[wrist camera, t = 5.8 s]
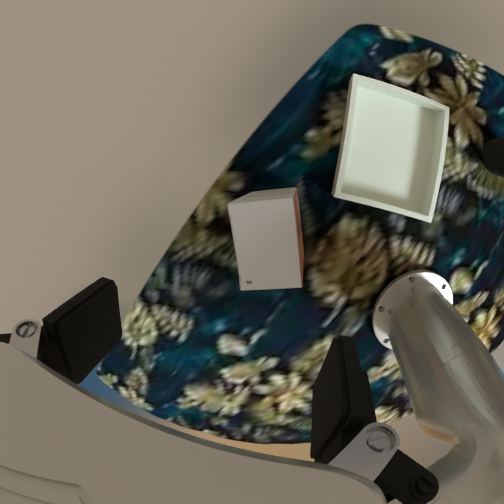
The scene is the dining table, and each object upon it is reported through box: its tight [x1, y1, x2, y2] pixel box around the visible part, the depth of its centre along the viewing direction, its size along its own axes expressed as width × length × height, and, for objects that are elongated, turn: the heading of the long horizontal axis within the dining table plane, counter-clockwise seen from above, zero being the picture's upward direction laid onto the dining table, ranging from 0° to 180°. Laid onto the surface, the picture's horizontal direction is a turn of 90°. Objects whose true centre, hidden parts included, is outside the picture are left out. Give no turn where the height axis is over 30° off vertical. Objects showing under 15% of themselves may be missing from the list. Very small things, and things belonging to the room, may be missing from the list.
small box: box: [227, 187, 304, 290], centre depth 27 cm, size 8×6×10 cm
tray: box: [331, 74, 449, 223], centre depth 25 cm, size 12×14×3 cm
